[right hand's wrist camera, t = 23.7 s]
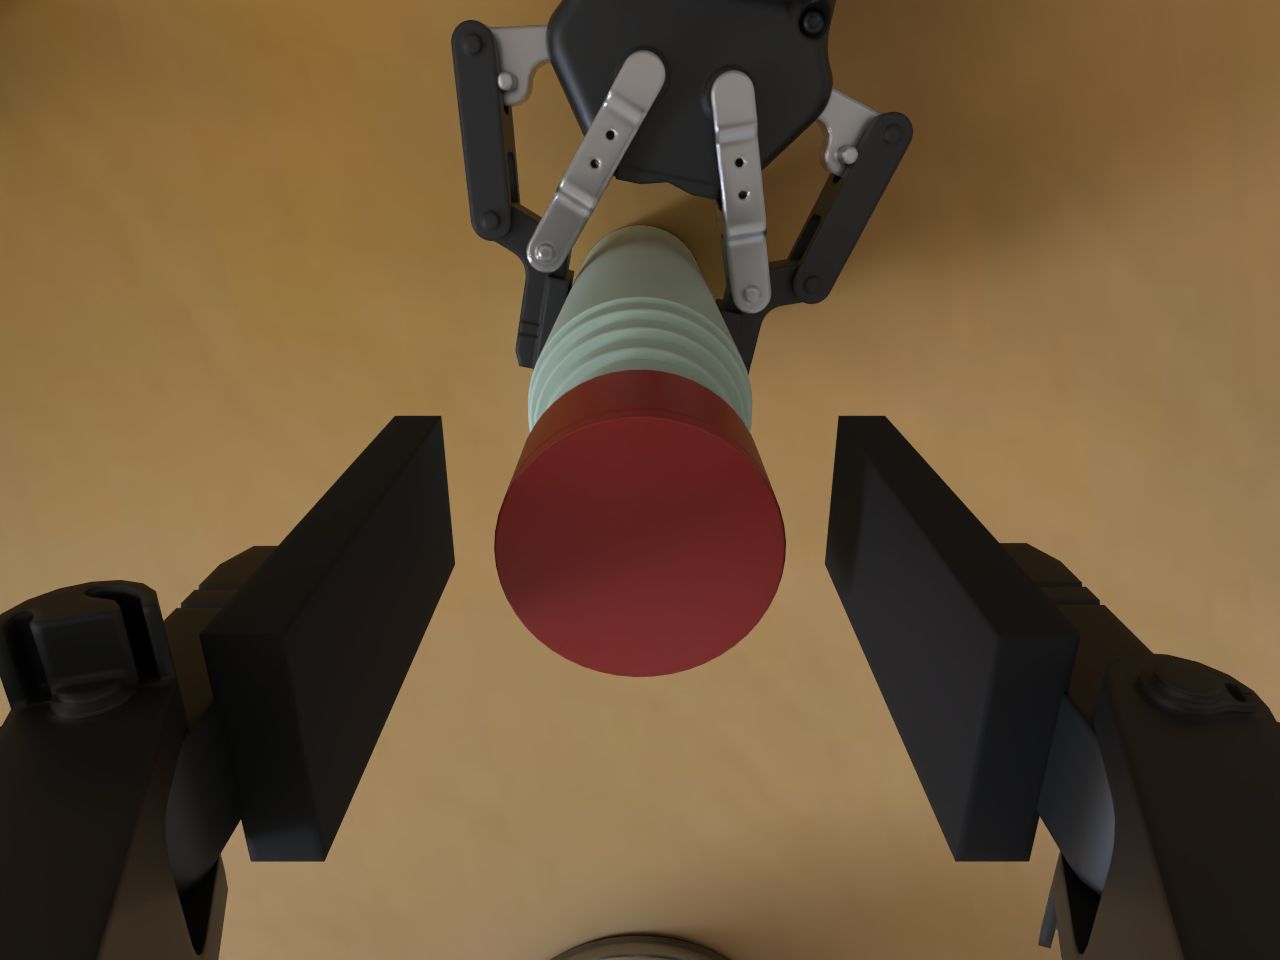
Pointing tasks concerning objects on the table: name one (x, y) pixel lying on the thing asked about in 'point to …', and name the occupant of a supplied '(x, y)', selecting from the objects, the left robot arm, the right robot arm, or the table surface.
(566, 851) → the table surface
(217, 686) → the right robot arm
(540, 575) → the cap
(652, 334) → the bottle
